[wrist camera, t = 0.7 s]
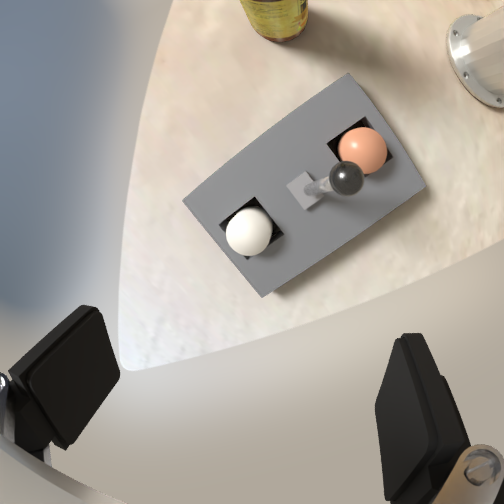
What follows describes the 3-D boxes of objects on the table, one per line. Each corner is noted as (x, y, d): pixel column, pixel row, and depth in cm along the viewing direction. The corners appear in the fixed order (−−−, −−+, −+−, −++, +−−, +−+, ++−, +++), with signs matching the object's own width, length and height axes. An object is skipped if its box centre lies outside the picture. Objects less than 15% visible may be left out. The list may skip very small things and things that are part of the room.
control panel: (344, 78, 28) (349, 70, 25) (416, 182, 31) (429, 187, 27) (191, 195, 35) (179, 202, 32) (264, 286, 38) (261, 301, 34)
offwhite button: (256, 197, 33) (251, 204, 30) (281, 230, 34) (279, 239, 30) (225, 221, 34) (217, 230, 31) (249, 252, 35) (244, 263, 32)
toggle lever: (309, 171, 29) (356, 150, 20) (325, 193, 29) (377, 181, 20) (289, 187, 28) (331, 170, 19) (305, 209, 29) (353, 202, 20)
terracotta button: (361, 121, 28) (369, 118, 25) (385, 155, 29) (395, 157, 26) (328, 144, 30) (332, 144, 26) (353, 178, 30) (359, 182, 27)
